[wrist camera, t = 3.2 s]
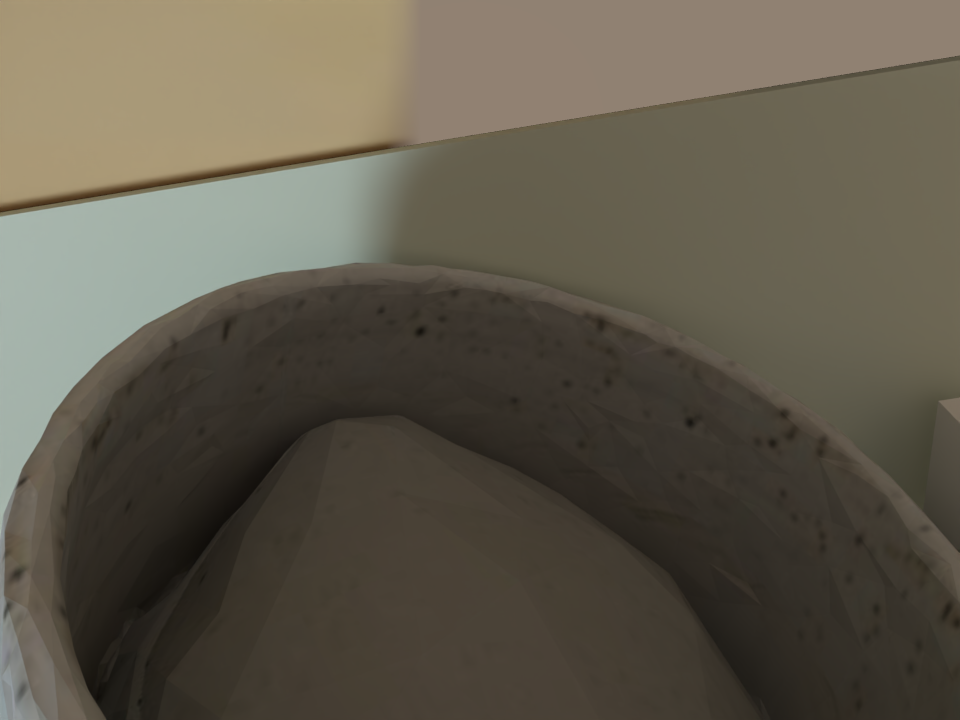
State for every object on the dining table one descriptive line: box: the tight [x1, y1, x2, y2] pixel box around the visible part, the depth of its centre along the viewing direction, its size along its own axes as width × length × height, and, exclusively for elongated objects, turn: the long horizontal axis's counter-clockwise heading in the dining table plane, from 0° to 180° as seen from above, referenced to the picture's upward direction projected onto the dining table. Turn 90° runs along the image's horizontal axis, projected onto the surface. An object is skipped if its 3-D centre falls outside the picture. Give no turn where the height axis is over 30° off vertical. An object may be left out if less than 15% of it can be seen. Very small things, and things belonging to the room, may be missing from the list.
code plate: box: [0, 56, 960, 536], centre depth 12 cm, size 14×11×1 cm
